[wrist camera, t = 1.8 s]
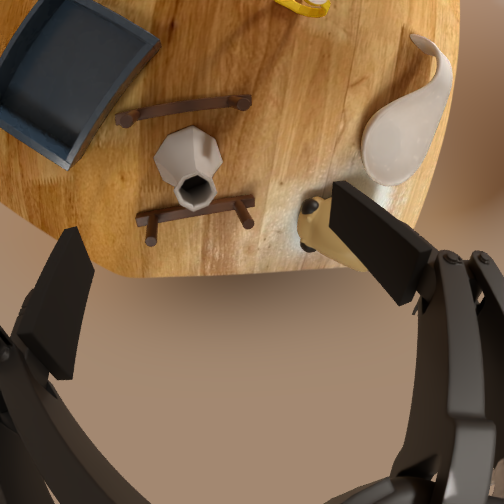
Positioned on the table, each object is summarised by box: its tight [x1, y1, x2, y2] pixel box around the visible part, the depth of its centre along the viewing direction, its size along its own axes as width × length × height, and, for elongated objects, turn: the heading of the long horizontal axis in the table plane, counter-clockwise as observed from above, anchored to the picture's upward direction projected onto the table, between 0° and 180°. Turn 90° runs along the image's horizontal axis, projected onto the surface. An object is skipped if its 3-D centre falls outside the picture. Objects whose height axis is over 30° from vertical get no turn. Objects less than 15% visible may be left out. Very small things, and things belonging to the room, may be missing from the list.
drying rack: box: [115, 95, 255, 247], centre depth 26 cm, size 14×13×6 cm
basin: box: [0, 0, 162, 171], centre depth 17 cm, size 15×15×5 cm
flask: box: [154, 126, 223, 212], centre depth 24 cm, size 7×7×10 cm
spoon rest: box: [361, 34, 453, 186], centre depth 27 cm, size 24×12×7 cm, turn 160°
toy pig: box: [297, 197, 369, 272], centre depth 34 cm, size 10×12×11 cm
